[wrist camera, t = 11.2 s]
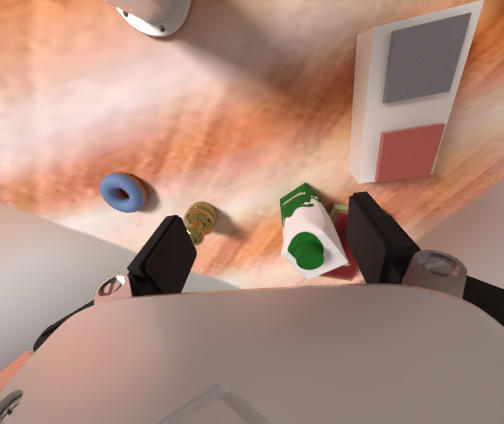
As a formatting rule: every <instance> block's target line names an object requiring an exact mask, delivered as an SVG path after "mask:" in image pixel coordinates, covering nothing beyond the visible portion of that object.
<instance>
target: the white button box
mask: <svg viewBox="0 0 504 424" xmlns="http://www.w3.org/2000/svg"><path fill="white" fill-rule="evenodd" d="M483 3H484V0H480V1H476V2H472V3H468V4H464V5H460V6H456V7H452V8H448V9H444V10H440V11H435V12H431V13H427V14H423V15H419V16H415V17H411V18H407V19H403V20H399V21H395V22H391V23H387V24H383V25H379V26H375V27H372V28H371V29H369V30H367V31H365V32H363V33H361V34H359V35H357V44H356V59H355V75H354V90H353V106H352V121H351V136H350V152H349V167H348V172H349V173H350V174H351V175H352V176H353V178H354V179H355V180H356V181H357V182H358V183H359V184H360V183H368V182H376V181H375V173H376V166H377V159H378V152H379V145H380V138H381V133H382V132H388V131H394V130H400V129H406V128H412V127H418V126H424V125H430V124H436V123H444V124H445V127H444V131H443V134H442V138H441V141H440V144H439V148H438V151H437V155H436V158H435V161H434V165H433V168H432V172H431V174H433V170H434V167H435V163H436V160H437V157H438V153H439V150H440V147H441V143H442V140H443V137H444V133H445V130H446V127H447V123H448V120H449V117H450V113H451V110H452V107H453V103H454V100H455V96H456V93H457V90H458V86H459V83H460V80H461V76H462V73H463V70H464V66H465V63H466V60H467V56H468V53H469V50H470V46H471V43H472V39H473V36H474V33H475V29H476V26H477V23H478V19H479V16H480V13H481V9H482V6H483ZM470 12H472V14H471V17H470V21H469V25H468V28H467V32H466V35H465V39H464V42H463V46H462V49H461V53H460V56H459V60H458V64H457V67H456V71H455V74H454V78H453V81H452V85H451V88H450V91H449V92H444V93H439V94H433V95H428V96H423V97H417V98H412V99H407V100H401V101H396V102H391V103H382V101H383V94H384V86H385V79H386V71H387V64H388V56H389V49H390V41H391V34H392V32H393V31H396V30H399V29H404V28H408V27H412V26H416V25H420V24H424V23H429V22H433V21H437V20H441V19H445V18H449V17H454V16H458V15H462V14H466V13H470Z"/></svg>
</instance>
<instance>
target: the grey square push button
mask: <svg viewBox="0 0 504 424" xmlns="http://www.w3.org/2000/svg"><path fill="white" fill-rule="evenodd" d="M471 14H472V12H470V13H466V14H462V15H458V16H454V17H449V18H445V19H441V20H437V21H433V22H429V23H424V24H420V25H416V26H412V27H408V28H404V29H399V30H396V31H393V32H392V34H391V41H390V49H389V56H388V64H387V71H386V79H385V86H384V94H383V101H382V103H391V102H396V101H401V100H407V99H412V98H417V97H423V96H428V95H433V94H439V93H444V92H449V91H450V88H451V85H452V81H453V78H454V74H455V71H456V67H457V64H458V60H459V56H460V53H461V49H462V46H463V42H464V39H465V35H466V32H467V28H468V25H469V21H470V17H471Z"/></svg>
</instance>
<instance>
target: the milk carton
mask: <svg viewBox="0 0 504 424" xmlns="http://www.w3.org/2000/svg"><path fill="white" fill-rule="evenodd" d="M280 206H281V215H282V227H283V239H284V243H283V248H282V252H281V254H282V255H283V256H284V257H285V258H286V260H287V261H288V262H289V263H290V264H291V265H292V266H293V267H294V268H295V269H296V270H297V271H298V272H299V273H301V274H302V275H303V276H304V277H305V278H306V279H307V280H309V279H312V278H314V277H316V276H319V275H321V274H323V273H326V272H328V271H330V270H333V269H335V268H337V267H340V266H342V265H344V264H347V263H349V262H348V260H347V257H346V255H345V253H344V250H343V248H342V245H341V243H340V239H339V237H338V235H337V232H336V230H335V228H334V225H333V223H332V221H331V218H330V216H329V214H328V212H327V209H326V208H325V206H324V205H323V203H322V202H321V201H320V199H319V198H318V197H317V196H316V194H315V193H314V192H313V191H312V190H311V188H310V187H309V186H308V185H307V184H306V183H304V184H303V185H301V186H300V187H298V188H296V189H295V190H293V191H292V192H290V193H289V194H287V195H286V196H284V197H283V198H281V199H280Z"/></svg>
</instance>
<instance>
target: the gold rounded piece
mask: <svg viewBox="0 0 504 424" xmlns="http://www.w3.org/2000/svg"><path fill="white" fill-rule="evenodd" d="M217 218H218V215H217V212H216V210H215V208H214V207H213V206H211V205H210V204H208V203H205V202H197V203H194V204H193V205H192V206H191V207H190V208H189V210H188V211H187V213H186V214H185V216H184V218H183V222H184V224H185V227H186V229H187V231H188V233H189V236H190V238H191V240H192V242H193V244H194V245H199V244H201V243H202V242H203V240H204V236H206V235H209V234H210V233H211V232H212V231H213V230H214V226H215V224H216V221H217Z"/></svg>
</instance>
